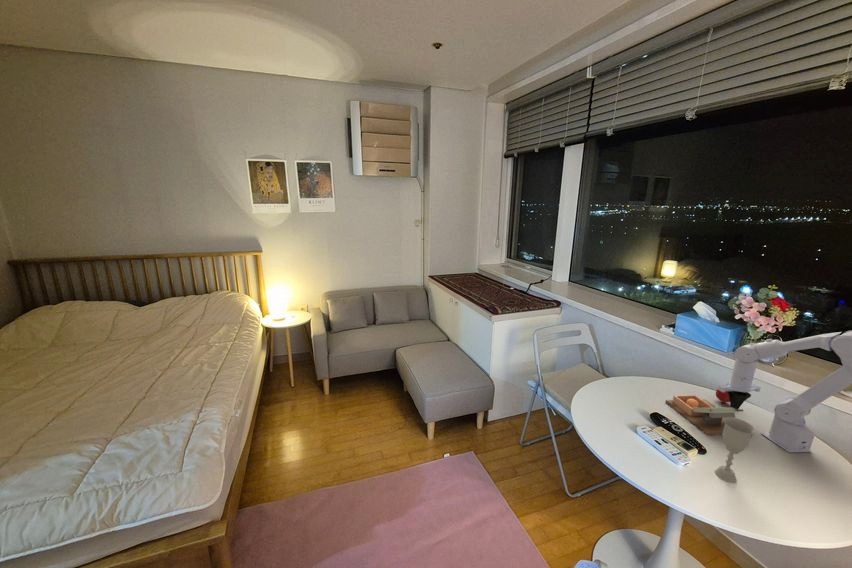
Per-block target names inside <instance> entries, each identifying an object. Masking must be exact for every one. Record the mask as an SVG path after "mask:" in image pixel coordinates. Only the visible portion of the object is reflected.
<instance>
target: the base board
mask: <svg viewBox="0 0 852 568" xmlns="http://www.w3.org/2000/svg"><path fill="white" fill-rule="evenodd" d="M702 400H703V401H704V402H706V403H707V404H709V405H710V406H712V407H713V408H714V407H717V406H716V405H714V404H713V403H711V402H710V401H709V400H707V399H706V398H704V399H702ZM665 404H667V405H668V406H669V407H671V408H672V409H673V410H675V411H676V412H677V413H679V414H680V416H682V417H683V418H685V419H686V420H687V421H688V422H690V423H691V424H692V425H694V426H695V427H696V428H698V430H700V431H701V432H703V434H705V435H706V436H711V435H715V436H716V435H717V436H719V435H722V434H723V430H724V426H725V422H724V418H710V415H709V413H704V414H703V416H689V415H688V414H687V413H686V412H684V411H683V410H682V409H680V408H679V407H678V406H676V405H675V404H674V403H673V399H665ZM698 408H700V407H698ZM722 436H723V435H722Z"/></svg>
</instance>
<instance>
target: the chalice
mask: <svg viewBox="0 0 852 568" xmlns="http://www.w3.org/2000/svg"><path fill="white" fill-rule="evenodd" d="M724 422H725V426H724V430H723V434H722V440H723V444H724V446H725V449H726V450H727V452H729V453H728V454H727V456H726V457H727V459H726V460H725V463H726V465H719V467H718V468H716V469H715V470H714V474H715V475H716V476H717V477H718V479H721V480H723V481H725V482H727V483H731V484H732V483H733V484H734V483H737V481H738V480H737V479H738V478H737V476H736V473H735V471H734V470H733V469H732V468H731V466H733V465H734V463H733V462H732V461H733V460H734V459H735V458H734V455H738V454H739V453H742V452H743V451H744V450H746V448H748V446H749V445H750V442H751V439H752V435H753V434H754V433H755V432H756V427H754V426H753V425H752V424H750V423H749V422H747V421H745V420H743V419H740V418H737V417H726V418H724Z"/></svg>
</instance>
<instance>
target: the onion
mask: <svg viewBox="0 0 852 568" xmlns="http://www.w3.org/2000/svg"><path fill="white" fill-rule="evenodd" d="M715 396H716V398H717V399H718V400H719V401H720V402H721V403H723V404H726V403H730V399H729V395H728V393H727V391H725V392H721V391H720V390H718V388H717V389H716V391H715Z"/></svg>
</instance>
